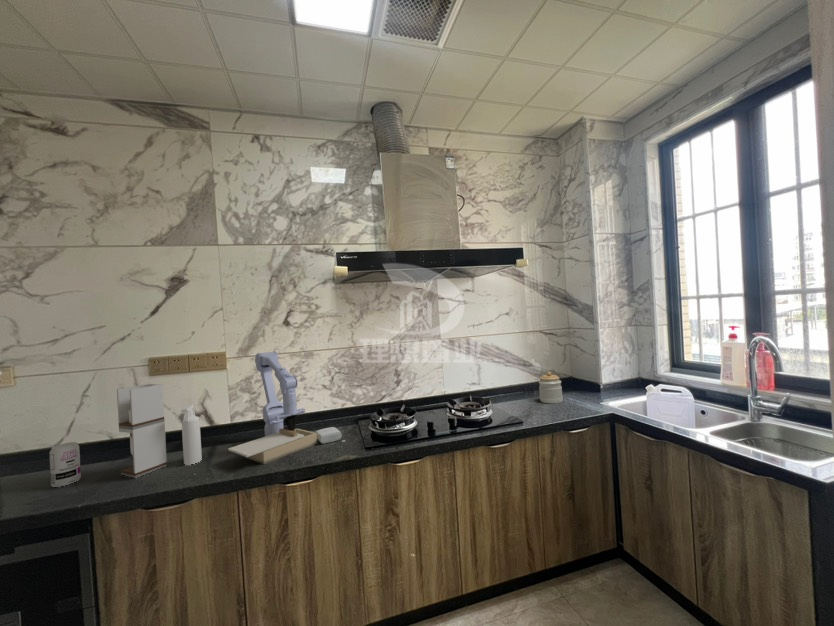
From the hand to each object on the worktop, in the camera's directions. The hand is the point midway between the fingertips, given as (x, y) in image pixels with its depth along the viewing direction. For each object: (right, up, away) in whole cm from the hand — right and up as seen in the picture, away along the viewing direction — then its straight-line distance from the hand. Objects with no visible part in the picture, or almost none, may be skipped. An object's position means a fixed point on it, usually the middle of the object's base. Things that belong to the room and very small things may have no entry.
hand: (291, 432), depth 160 cm
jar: (+139, +2, +47) cm, 147 cm away
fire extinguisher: (-39, -9, -11) cm, 41 cm away
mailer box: (-3, -7, -4) cm, 8 cm away
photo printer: (+18, -3, +1) cm, 19 cm away
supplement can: (-80, -12, -24) cm, 85 cm away
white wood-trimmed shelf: (-55, -10, -17) cm, 59 cm away
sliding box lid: (-7, -2, -9) cm, 12 cm away
